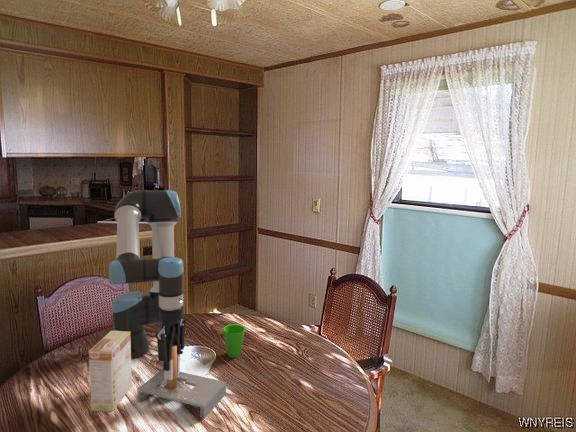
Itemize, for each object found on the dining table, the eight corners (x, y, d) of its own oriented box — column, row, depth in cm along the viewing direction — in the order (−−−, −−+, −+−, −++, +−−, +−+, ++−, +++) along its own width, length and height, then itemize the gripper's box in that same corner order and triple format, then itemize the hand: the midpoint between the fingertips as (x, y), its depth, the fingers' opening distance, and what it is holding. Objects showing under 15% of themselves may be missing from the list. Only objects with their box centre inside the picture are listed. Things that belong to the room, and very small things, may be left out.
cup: (247, 350, 166) (247, 324, 165) (242, 361, 157) (243, 334, 156) (225, 348, 167) (225, 323, 166) (219, 359, 158) (220, 332, 157)
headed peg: (160, 392, 131) (159, 348, 129) (170, 384, 136) (169, 342, 134) (174, 396, 129) (173, 351, 127) (183, 387, 134) (183, 344, 132)
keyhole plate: (137, 401, 129) (137, 388, 128) (164, 379, 142) (164, 368, 142) (203, 419, 121) (203, 405, 121) (225, 394, 134) (225, 382, 134)
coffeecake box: (112, 384, 138) (110, 330, 136) (132, 385, 138) (131, 330, 136) (89, 411, 124) (87, 350, 121) (112, 412, 123) (110, 351, 121)
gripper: (165, 317, 120) (166, 391, 123) (195, 300, 135) (195, 366, 138) (144, 313, 123) (146, 386, 126) (176, 297, 138) (176, 362, 141)
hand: (171, 375), depth 132 cm, fingers closed on headed peg, 3 cm apart
